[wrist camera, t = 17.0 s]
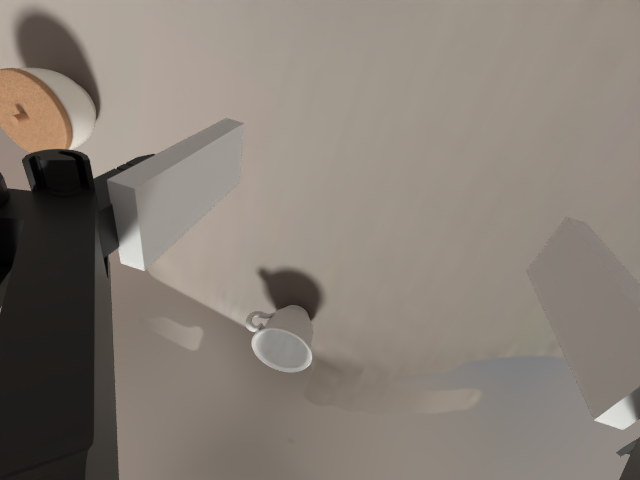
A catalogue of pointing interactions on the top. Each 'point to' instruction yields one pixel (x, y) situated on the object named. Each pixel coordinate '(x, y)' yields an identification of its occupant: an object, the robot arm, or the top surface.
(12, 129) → the lidded bowl
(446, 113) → the top surface
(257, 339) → the teacup
